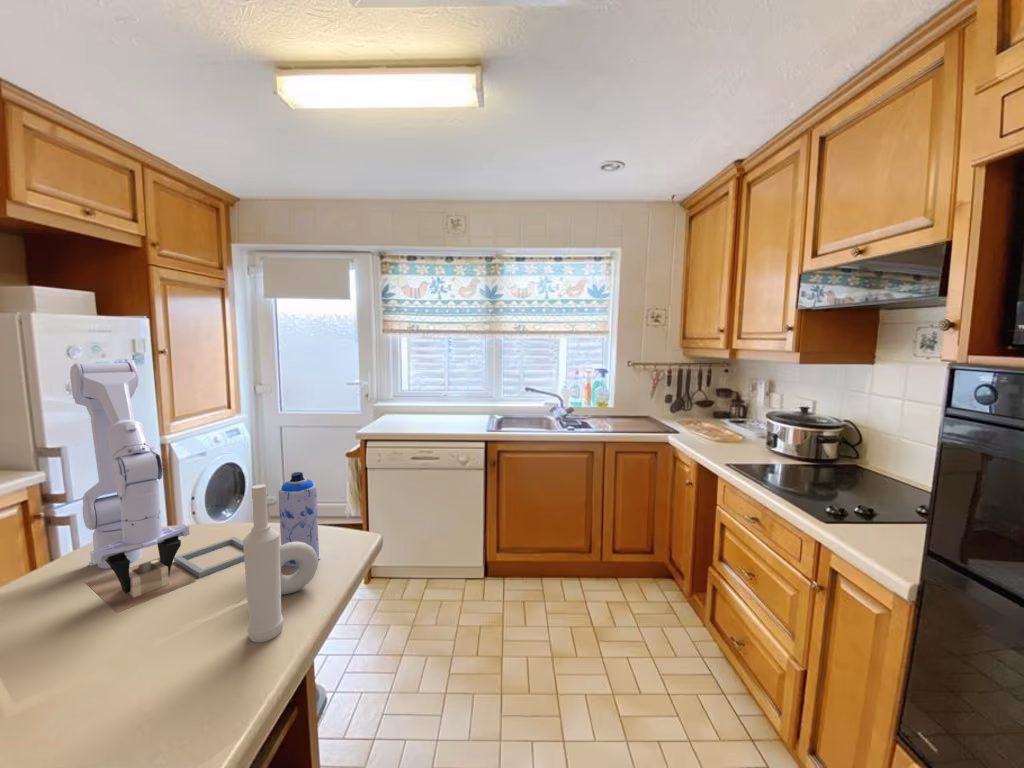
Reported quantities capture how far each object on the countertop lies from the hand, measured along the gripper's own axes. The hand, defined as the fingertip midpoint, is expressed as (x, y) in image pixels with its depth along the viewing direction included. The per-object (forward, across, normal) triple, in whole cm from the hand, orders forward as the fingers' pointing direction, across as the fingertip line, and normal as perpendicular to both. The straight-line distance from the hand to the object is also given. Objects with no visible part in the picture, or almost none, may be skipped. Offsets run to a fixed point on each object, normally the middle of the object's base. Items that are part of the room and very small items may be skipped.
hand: (146, 583), depth 84 cm
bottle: (+2, +6, -32) cm, 33 cm away
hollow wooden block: (+1, 0, 0) cm, 1 cm away
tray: (+2, +13, +1) cm, 13 cm away
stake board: (+2, 0, +3) cm, 3 cm away
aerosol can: (+2, +23, -14) cm, 27 cm away
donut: (+2, +15, -24) cm, 28 cm away
